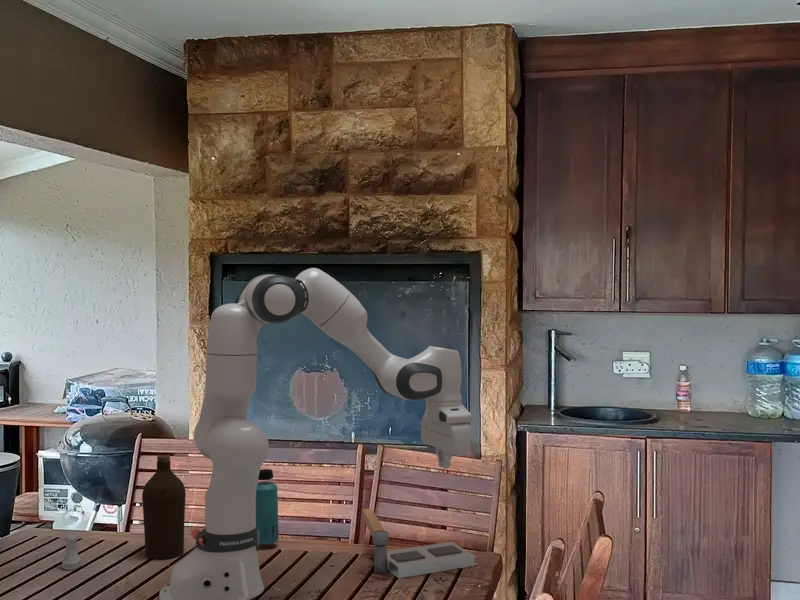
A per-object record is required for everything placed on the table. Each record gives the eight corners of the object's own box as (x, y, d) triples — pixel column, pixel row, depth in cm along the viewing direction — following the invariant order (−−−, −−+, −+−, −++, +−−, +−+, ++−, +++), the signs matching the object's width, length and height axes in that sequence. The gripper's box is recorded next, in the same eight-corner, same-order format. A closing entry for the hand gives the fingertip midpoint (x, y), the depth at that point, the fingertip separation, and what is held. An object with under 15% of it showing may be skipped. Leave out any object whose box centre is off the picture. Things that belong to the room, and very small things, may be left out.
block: (384, 580, 188) (384, 552, 188) (365, 564, 199) (365, 537, 199) (474, 565, 198) (474, 539, 198) (451, 551, 209) (451, 525, 209)
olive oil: (193, 554, 208) (192, 455, 208) (154, 563, 201) (153, 462, 201) (173, 544, 216) (172, 449, 216) (135, 553, 209) (134, 455, 208)
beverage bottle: (273, 551, 210) (273, 473, 210) (249, 549, 211) (248, 472, 211) (282, 543, 216) (281, 467, 216) (258, 541, 218) (258, 466, 217)
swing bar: (389, 544, 193) (389, 534, 193) (374, 545, 192) (374, 535, 192) (374, 517, 216) (374, 508, 216) (360, 518, 215) (360, 509, 215)
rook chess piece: (57, 568, 198) (57, 535, 198) (72, 563, 202) (72, 530, 202) (70, 571, 196) (70, 538, 196) (85, 566, 200) (85, 533, 200)
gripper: (414, 406, 209) (414, 460, 209) (451, 417, 190) (451, 477, 190) (436, 404, 211) (437, 458, 212) (475, 415, 193) (475, 474, 193)
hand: (444, 467), depth 201 cm, fingers closed
